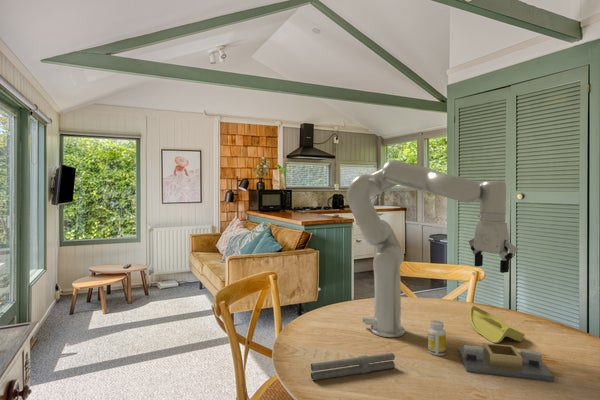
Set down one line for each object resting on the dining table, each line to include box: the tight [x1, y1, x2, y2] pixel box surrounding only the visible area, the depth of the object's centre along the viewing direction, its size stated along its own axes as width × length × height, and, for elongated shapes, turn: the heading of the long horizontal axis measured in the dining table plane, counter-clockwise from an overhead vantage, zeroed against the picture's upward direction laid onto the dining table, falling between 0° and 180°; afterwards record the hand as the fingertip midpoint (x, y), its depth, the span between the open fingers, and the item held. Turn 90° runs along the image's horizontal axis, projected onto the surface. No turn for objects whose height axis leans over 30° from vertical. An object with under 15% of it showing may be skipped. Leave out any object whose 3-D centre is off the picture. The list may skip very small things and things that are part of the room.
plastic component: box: [469, 305, 525, 344], centre depth 132 cm, size 20×7×10 cm
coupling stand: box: [458, 342, 555, 382], centre depth 108 cm, size 22×14×4 cm, turn 75°
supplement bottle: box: [427, 319, 447, 356], centre depth 116 cm, size 5×5×10 cm
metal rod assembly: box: [310, 352, 396, 381], centre depth 103 cm, size 26×3×5 cm, turn 105°
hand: (490, 269), depth 119 cm, fingers open, 9 cm apart
